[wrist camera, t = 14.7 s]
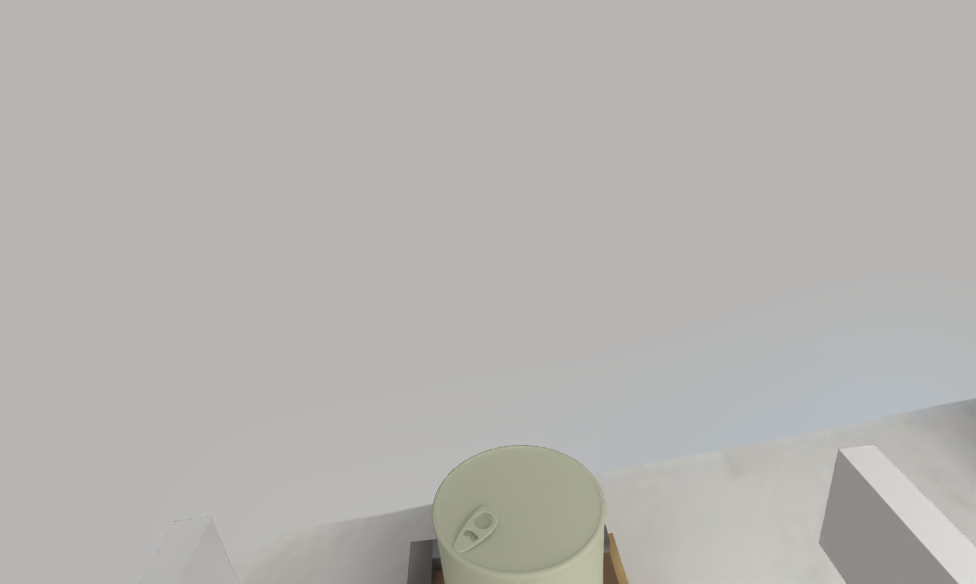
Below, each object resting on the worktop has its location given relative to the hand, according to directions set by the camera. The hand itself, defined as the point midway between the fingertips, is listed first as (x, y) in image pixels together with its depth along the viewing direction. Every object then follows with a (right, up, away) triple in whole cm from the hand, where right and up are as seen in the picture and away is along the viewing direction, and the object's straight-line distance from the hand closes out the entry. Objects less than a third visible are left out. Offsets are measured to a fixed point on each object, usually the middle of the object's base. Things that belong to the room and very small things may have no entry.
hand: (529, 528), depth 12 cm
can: (+2, -17, +23) cm, 28 cm away
